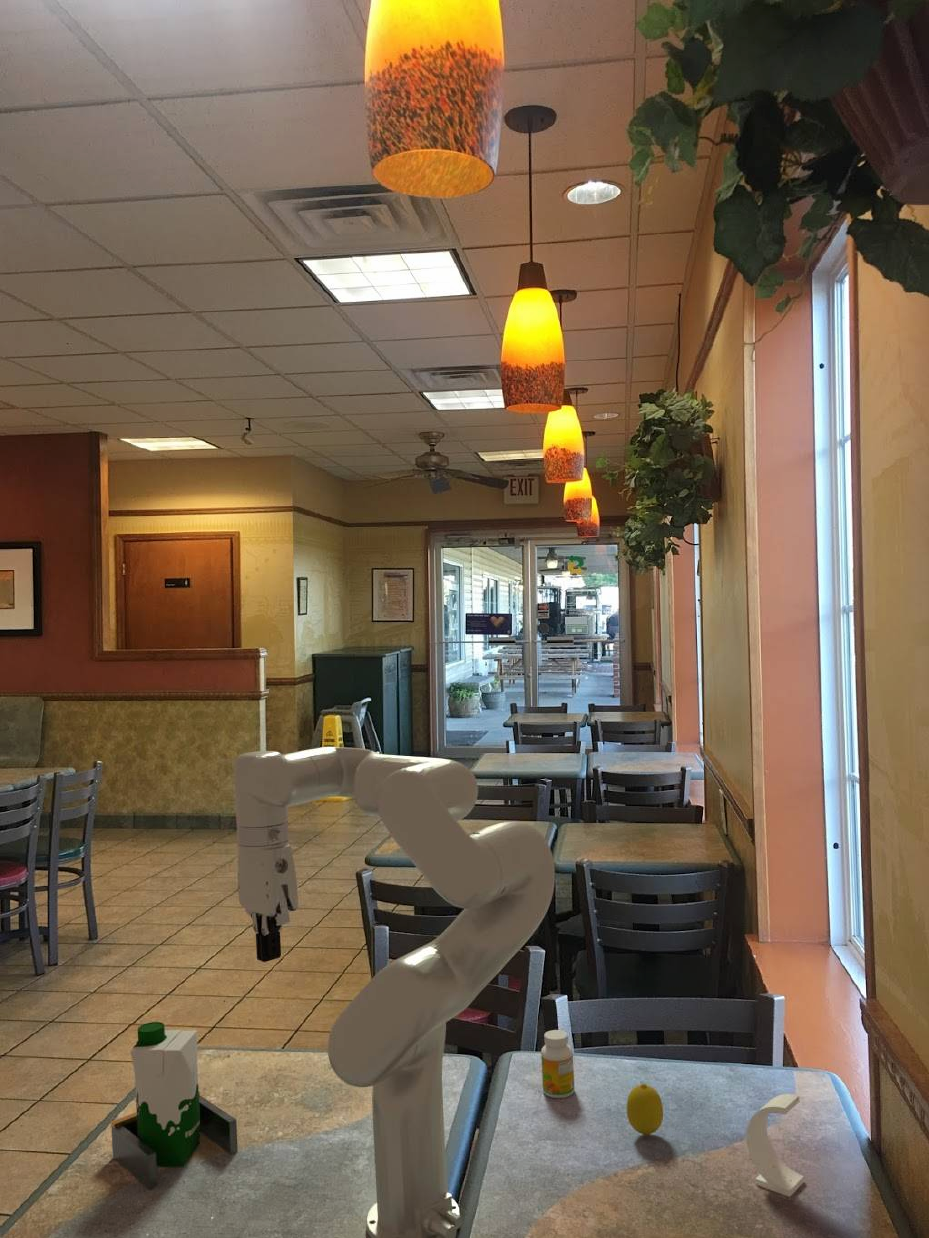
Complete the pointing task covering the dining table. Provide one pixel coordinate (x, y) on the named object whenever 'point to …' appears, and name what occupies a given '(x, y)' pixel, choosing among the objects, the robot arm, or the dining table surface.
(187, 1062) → the soya milk
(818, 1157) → the dining table surface
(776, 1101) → the headphone stand
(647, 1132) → the lemon
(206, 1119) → the bracket
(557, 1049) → the supplement bottle
